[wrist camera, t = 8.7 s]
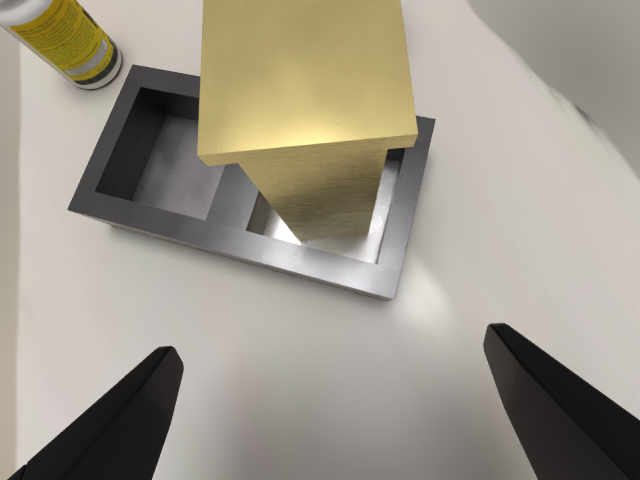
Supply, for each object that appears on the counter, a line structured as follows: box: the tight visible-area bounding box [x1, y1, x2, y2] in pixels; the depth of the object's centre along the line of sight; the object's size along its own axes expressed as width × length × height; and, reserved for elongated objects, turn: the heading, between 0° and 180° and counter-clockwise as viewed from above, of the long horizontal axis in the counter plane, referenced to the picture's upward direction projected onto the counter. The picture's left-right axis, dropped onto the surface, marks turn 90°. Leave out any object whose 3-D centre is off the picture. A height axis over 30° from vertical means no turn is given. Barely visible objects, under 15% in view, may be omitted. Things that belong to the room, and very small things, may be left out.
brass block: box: [197, 0, 418, 240], centre depth 14 cm, size 6×6×12 cm
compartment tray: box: [67, 65, 436, 301], centre depth 20 cm, size 10×20×4 cm, turn 74°
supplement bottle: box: [0, 0, 121, 89], centre depth 21 cm, size 5×5×8 cm
